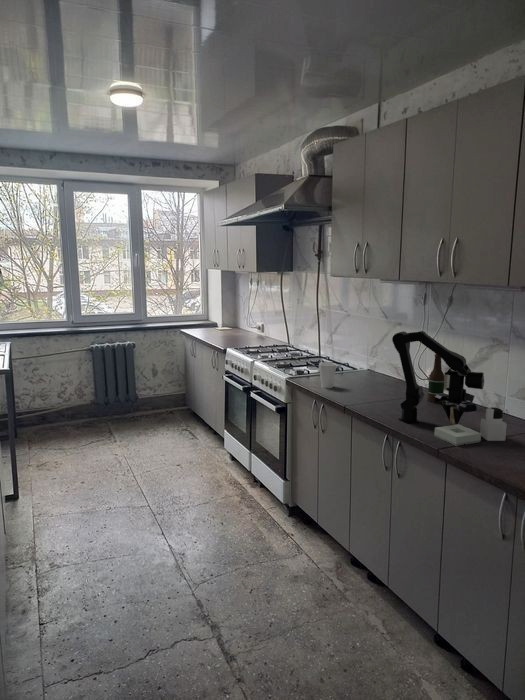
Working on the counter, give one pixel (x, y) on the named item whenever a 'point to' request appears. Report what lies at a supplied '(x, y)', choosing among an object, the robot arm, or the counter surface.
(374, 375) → the counter surface
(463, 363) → the robot arm
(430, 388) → the beer bottle
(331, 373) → the foam cup
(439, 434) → the bore block
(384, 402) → the counter surface
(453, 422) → the dowel
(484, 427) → the medicine bottle
